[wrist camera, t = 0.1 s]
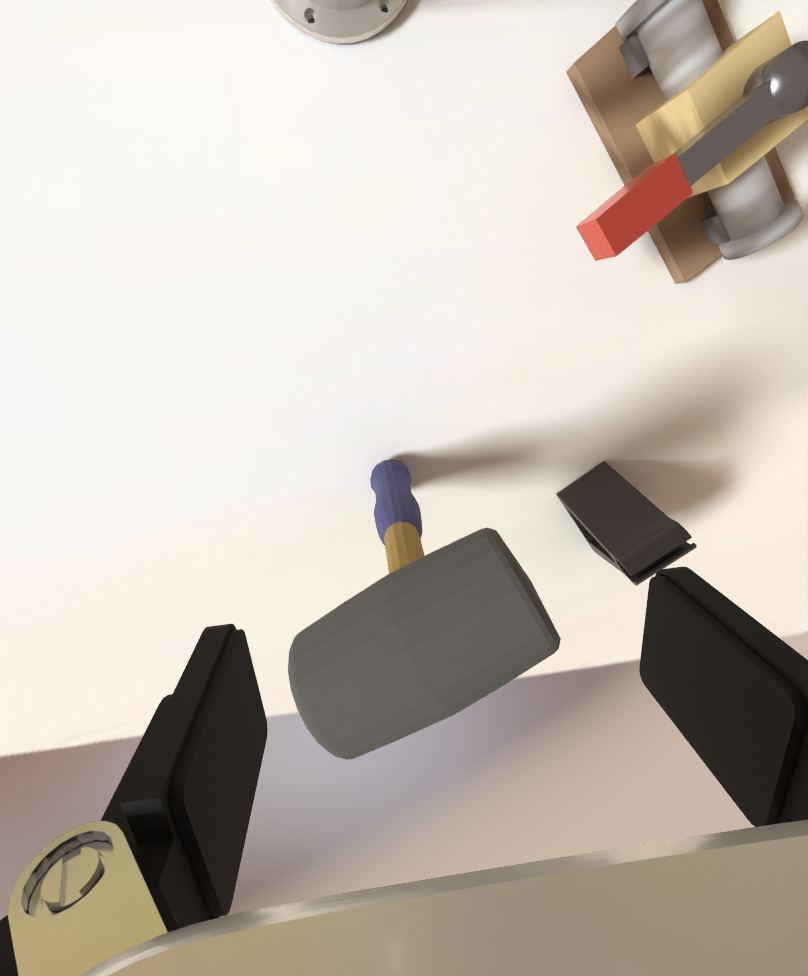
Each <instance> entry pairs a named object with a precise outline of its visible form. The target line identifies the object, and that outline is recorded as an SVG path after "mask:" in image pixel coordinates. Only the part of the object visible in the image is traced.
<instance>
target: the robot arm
mask: <svg viewBox="0 0 808 976" xmlns="http://www.w3.org/2000/svg"><path fill="white" fill-rule="evenodd" d="M271 2H272V3H273V5H274V6H275V7H276V9H277V10H278V11H279V12H280V13H281V14H282V15H283V16H284V17H285V18H286V19H287V20H288V21H289V22H290V23H291V24H293V25H294V26H295V27H297V28H298V29H299V30H301V31H302V32H304V33H305V34H307V35H310V36H312V37H314V38H316V39H318V40H321V41H326V42H331V43H335V44H342V43H355V42H358V41H362V40H365V39H368V38H370V37H372V36H374V35H375V34H377V33H379V32H381V31H382V30H383V29H384V28H385V27H387V26H388V25H389V24H390V23H391V22H392V21H393V20H394V19H395V18H396V17H397V15H398V14H399V13H400V11H401V10H402V8H403V7H404V6H405V4H406V2H407V0H271ZM383 8H386V9H387V11H388V12H386V13H385V12H382V11H381V10H382V9H383ZM309 19H313V20H314V21H315V22H314V23H308V21H309ZM640 676H641V679H642V681H643V683H644V685H645V686H646V688H647V689H648V690H649V691H650V693H651V694H652V695H653V697H654V698H655V699H656V701H657V702H658V703H659V704H660V706H661V707H662V708H663V710H664V711H665V712H666V714H667V715H668V716H669V718H670V719H671V720H672V721H673V723H674V724H675V725H676V727H677V728H678V729H679V730H680V732H681V733H682V734H683V736H684V737H685V738H686V740H687V741H688V742H689V744H690V745H691V746H692V747H693V749H694V750H695V751H696V753H697V754H698V755H699V757H700V758H701V759H702V760H703V762H704V763H705V764H706V766H707V767H708V768H709V770H710V771H711V772H712V773H713V775H714V776H715V777H716V779H717V780H718V781H719V783H720V784H721V785H722V786H723V788H724V789H725V790H726V792H727V793H728V794H729V796H730V797H731V798H732V799H733V801H734V802H735V803H736V805H737V806H738V807H739V809H740V810H741V811H742V812H743V813H744V815H745V816H746V818H747V819H748V820H749V821H750V822H751V824H752V825H754V826H755V827H754V828H747V829H741V830H734V831H727V832H721V833H714V834H708V835H701V836H695V837H688V838H682V839H676V840H669V841H662V842H656V843H649V844H643V845H636V846H630V847H624V848H618V849H611V850H605V851H599V852H593V853H586V854H580V855H574V856H568V857H561V858H555V859H549V860H543V861H536V862H530V863H524V864H518V865H512V866H505V867H499V868H493V869H487V870H481V871H475V872H469V873H463V874H456V875H450V876H445V877H438V878H432V879H426V880H420V881H414V882H408V883H402V884H397V885H390V886H384V887H379V888H373V889H366V890H361V891H354V892H349V893H343V894H337V895H331V896H326V897H321V898H315V899H310V900H304V901H299V902H294V903H289V904H283V905H278V906H272V907H267V908H262V909H256V910H251V911H246V912H241V913H238V914H233V915H229V916H224V915H227V914H228V913H229V910H230V908H231V904H232V900H233V895H234V890H235V885H236V881H237V876H238V871H239V867H240V862H241V857H242V853H243V848H244V843H245V838H246V834H247V829H248V824H249V820H250V815H251V810H252V805H253V801H254V795H255V791H256V786H257V782H258V777H259V772H260V768H261V762H262V758H263V753H264V749H265V744H266V739H267V720H266V716H265V712H264V708H263V704H262V700H261V696H260V692H259V688H258V684H257V680H256V676H255V672H254V668H253V664H252V660H251V656H250V652H249V648H248V644H247V640H246V636H245V632H244V631H243V630H242V629H240V630H236V627H235V626H234V625H233V624H226V625H219V626H211V627H206V628H205V629H204V631H203V632H202V634H201V637H200V639H199V641H198V643H197V645H196V647H195V649H194V651H193V653H192V655H191V657H190V659H189V661H188V664H187V666H186V668H185V670H184V672H183V674H182V676H181V678H180V680H179V682H178V684H177V686H176V688H175V691H174V693H173V694H171V695H167V696H166V697H164V698H163V699H162V701H161V702H160V704H159V706H158V708H157V710H156V712H155V714H154V716H153V718H152V720H151V722H150V724H149V726H148V728H147V730H146V732H145V734H144V736H143V738H142V740H141V742H140V744H139V746H138V748H137V749H136V752H135V753H134V756H133V757H132V759H131V761H130V763H129V765H128V767H127V769H126V771H125V773H124V776H123V777H122V779H121V782H120V783H119V785H118V787H117V789H116V791H115V793H114V795H113V797H112V799H111V801H110V803H109V805H108V807H107V809H106V811H105V813H104V815H103V817H102V819H101V821H95V822H89V823H86V824H83V825H80V826H77V827H75V828H73V829H71V830H69V831H68V832H66V833H64V834H62V835H61V836H59V837H57V838H56V839H55V840H54V841H52V842H51V843H50V844H49V845H47V846H46V847H45V848H44V849H42V850H41V851H40V852H39V853H38V854H37V855H36V856H35V858H34V859H33V860H32V861H31V862H30V863H29V864H28V865H27V866H26V868H25V869H24V871H23V872H22V874H21V875H20V877H19V878H18V880H17V882H16V883H15V885H14V888H13V890H12V893H11V895H10V898H9V903H8V904H9V905H8V915H7V916H6V917H4V918H3V919H2V920H0V976H808V660H807V659H805V658H804V657H803V656H802V655H800V654H799V653H798V652H796V651H795V650H794V649H793V648H791V647H790V646H788V645H787V644H786V643H785V642H784V641H782V640H781V639H780V638H778V637H777V636H776V635H774V634H773V633H772V632H771V631H769V630H768V629H767V628H765V627H764V626H763V625H762V624H760V623H759V622H758V621H756V620H755V619H754V618H753V617H751V616H750V615H749V614H747V613H746V612H745V611H743V610H742V609H741V608H740V607H738V606H737V605H736V604H734V603H733V602H732V601H731V600H729V599H728V598H727V597H725V596H724V595H723V594H722V593H720V592H719V591H718V590H716V589H715V588H714V587H712V586H711V585H710V584H709V583H707V582H706V581H705V580H703V579H702V578H701V577H700V576H698V575H697V574H696V573H694V572H693V571H692V570H691V569H689V568H687V567H677V568H669V569H661V570H659V571H658V572H657V573H656V576H655V577H652V578H651V580H650V583H649V591H648V600H647V608H646V617H645V625H644V634H643V643H642V651H641V660H640ZM220 916H224V917H220ZM219 917H220V918H219Z"/></svg>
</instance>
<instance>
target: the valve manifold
mask: <svg viewBox="0 0 808 976" xmlns="http://www.w3.org/2000/svg"><path fill="white" fill-rule="evenodd" d="M615 25H616V26H615V27H614V28H612V29H611V30H610V31H609V32H608V33H607V34H606V35H605V36H604V37H602V38H601V39H600V40H599V41H598V42H597V43H596V44H595V45H594V46H593V47H591V48H590V49H589V50H588V51H587V52H586V53H585V54H584V55H583V56H581V57H580V58H579V59H578V60H577V61H576V62H575V63H574V64H573V65H572V66H571V67H570V68H569V70H568V71H567V74H568V76H569V78H570V80H571V82H572V84H573V86H574V88H575V90H576V91H577V93H578V95H579V97H580V99H581V101H582V103H583V105H584V107H585V109H586V111H587V113H588V115H589V117H590V119H591V121H592V123H593V124H594V126H595V128H596V130H597V132H598V134H599V136H600V138H601V140H602V142H603V144H604V146H605V148H606V150H607V152H608V154H609V156H610V157H611V159H612V161H613V163H614V165H615V167H616V169H617V171H618V173H619V175H620V177H621V179H622V181H623V183H624V185H626V184H627V183H629V182H630V181H631V180H632V179H633V178H635V177H636V176H637V175H638V174H639V173H641V172H642V171H643V170H644V169H645V168H646V167H648V166H650V165H652V164H654V163H656V162H658V161H660V160H662V159H664V158H666V157H668V156H670V155H672V154H673V153H674V152H676V151H677V150H678V149H679V148H680V147H682V146H683V145H684V144H685V143H686V142H688V141H689V140H690V139H691V138H692V137H694V136H695V135H696V134H697V133H698V132H700V131H701V130H702V129H703V128H704V127H706V126H707V125H708V124H709V123H710V122H711V121H713V120H714V119H715V118H716V117H717V116H719V115H720V114H721V113H722V112H723V111H725V110H726V109H727V108H728V107H729V106H731V105H732V104H733V103H734V102H735V101H737V100H738V99H739V98H740V97H741V96H742V95H743V90H744V87H745V84H746V82H747V80H748V78H749V76H750V75H751V74H752V72H753V71H754V70H755V69H756V68H757V67H758V66H760V65H761V64H763V63H764V62H766V61H768V60H769V59H771V58H772V57H774V56H776V55H777V54H779V53H781V52H782V51H784V50H786V49H787V48H789V47H790V46H792V45H791V43H790V40H789V37H788V34H787V31H786V28H785V26H784V23H783V20H782V17H781V14H780V11H779V12H777V13H776V14H775V15H773V16H772V17H770V18H769V19H768V20H766V21H765V22H763V23H762V24H761V25H759V26H758V27H756V28H755V29H753V30H752V31H751V32H749V33H748V34H746V35H745V36H744V37H742V38H741V39H739V40H738V41H737V42H735V43H734V41H733V39H732V36H731V34H730V31H729V29H728V26H727V24H726V21H725V18H724V16H723V13H722V11H721V8H720V6H719V3H718V1H717V0H637V1H636V2H635V3H634V4H633V5H632V6H631V7H630V8H629V9H628V10H627V11H626V12H625V13H624V14H623V15H622V17H621V18H620V19H619V20H618V21H617V22H616V24H615ZM807 120H808V106H807V107H806V108H804V109H803V110H801V111H798V112H796V113H794V114H792V115H789V116H787V117H785V118H783V119H781V120H778V121H776V122H774V123H772V124H769V125H766V126H764V127H763V128H761V129H760V130H759V131H758V132H756V133H755V134H754V135H753V136H752V137H750V138H749V139H748V140H747V141H745V142H744V143H743V144H742V145H741V146H739V147H738V148H737V149H736V150H734V151H733V152H732V153H731V154H730V155H728V156H727V157H726V158H725V159H724V160H722V161H721V162H720V163H719V164H717V165H716V166H715V167H714V168H713V169H711V170H710V171H709V172H708V173H706V174H705V175H704V176H703V177H702V178H700V179H699V180H698V181H697V182H695V183H694V184H693V185H692V186H691V189H692V191H693V194H692V195H691V196H689V197H688V198H687V199H686V200H685V201H683V202H682V203H681V204H680V205H678V206H677V207H676V208H675V209H673V210H672V211H671V212H670V213H669V214H667V215H666V216H665V217H664V218H662V219H661V220H660V221H659V222H658V223H656V224H655V225H654V226H653V227H651V228H650V229H649V230H648V231H649V233H650V235H651V237H652V239H653V241H654V243H655V245H656V247H657V249H658V251H659V253H660V254H661V256H662V258H663V260H664V262H665V264H666V266H667V268H668V270H669V272H670V274H671V276H672V278H673V280H674V282H675V284H676V283H686V282H687V281H689V280H690V279H691V278H692V277H694V276H695V275H696V274H698V273H699V272H700V271H701V270H703V269H704V268H705V267H706V266H708V265H709V264H710V263H712V262H713V261H714V260H715V259H717V258H718V257H719V256H720V255H723V257H724V259H727V260H732V259H737V258H741V257H744V256H747V255H749V254H752V253H754V252H756V251H758V250H760V249H762V248H764V247H766V246H768V245H770V244H772V243H773V242H775V241H777V240H778V239H780V238H781V237H783V236H784V235H786V234H787V233H788V232H790V231H791V230H792V229H793V228H795V227H796V226H797V225H798V224H799V223H800V221H801V220H802V218H803V214H802V211H801V208H800V206H799V203H798V201H797V200H795V199H793V198H794V195H793V192H792V190H791V187H790V185H789V182H788V180H787V177H786V174H785V172H784V169H783V167H782V164H781V162H780V159H779V157H778V154H777V151H776V149H775V146H776V145H777V144H778V143H780V142H781V141H782V140H783V139H785V138H786V137H787V136H788V135H789V134H791V133H792V132H793V131H794V130H796V129H797V128H798V127H799V126H801V125H802V124H803V123H804V122H806V121H807Z"/></svg>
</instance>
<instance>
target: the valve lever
mask: <svg viewBox="0 0 808 976" xmlns="http://www.w3.org/2000/svg"><path fill="white" fill-rule="evenodd" d="M807 106H808V41H801V42H798V43H796V44H794V45H792V46H790V47H789V48H787V49H786V50H784V51H782V52H781V53H779V54H777V55H776V56H774V57H772V58H771V59H769V60H768V61H766V62H764V63H763V64H761V65H760V66H758V67H757V68H756V69H755V70H754V71H753V72H752V74H751V75H750V76H749V78H748V80H747V82H746V84H745V87H744V90H743V95H742V96H741V97H740V98H739V99H738V100H737V101H735V102H734V103H733V104H732V105H731V106H729V107H728V108H727V109H726V110H725V111H723V112H722V113H721V114H720V115H719V116H717V117H716V118H715V119H714V120H713V121H711V122H710V123H709V124H708V125H707V126H706V127H704V128H703V129H702V130H701V131H700V132H698V133H697V134H696V135H695V136H694V137H692V138H691V139H690V140H689V141H688V142H686V143H685V144H684V145H683V146H682V147H680V148H679V149H678V150H677V151H676V152H674V153H673V154H672V155H670V156H668V157H666V158H664V159H662V160H660V161H658V162H656V163H654V164H652V165H650V166H648V167H646V168H645V169H644V170H643V171H642V172H641V173H639V174H638V175H637V176H636V177H635V178H633V179H632V180H631V181H630V182H629V183H627V184H626V185H625V186H624V187H623V188H621V189H620V190H619V191H618V192H617V193H616V194H614V195H613V196H612V197H611V198H610V199H608V200H607V201H606V202H605V203H604V204H602V205H601V206H600V207H599V208H598V209H597V210H595V211H594V212H593V213H592V214H591V215H589V216H588V217H587V218H586V219H585V220H583V221H582V222H581V223H580V224H579V225H577V226H576V228H577V229H578V231H579V233H580V235H581V236H582V238H583V240H584V242H585V243H586V245H587V247H588V249H589V250H590V252H591V254H592V256H593V257H594V259H595V261H596V260H601V259H606V258H610V257H615V256H617V255H618V254H620V253H621V252H622V251H623V250H624V249H626V248H627V247H628V246H629V245H631V244H632V243H633V242H634V241H636V240H637V239H638V238H639V237H640V236H642V235H643V234H644V233H645V232H647V231H648V230H649V229H650V228H651V227H653V226H654V225H655V224H656V223H658V222H659V221H660V220H661V219H662V218H664V217H665V216H666V215H667V214H669V213H670V212H671V211H672V210H673V209H675V208H676V207H677V206H678V205H680V204H681V203H682V202H683V201H685V200H686V199H687V198H688V197H689V196H691V195H692V194H693V191H692V189H691V186H692V185H693V184H694V183H695V182H697V181H698V180H699V179H700V178H702V177H703V176H704V175H705V174H706V173H708V172H709V171H710V170H711V169H713V168H714V167H715V166H716V165H717V164H719V163H720V162H721V161H722V160H724V159H725V158H726V157H727V156H728V155H730V154H731V153H732V152H733V151H734V150H736V149H737V148H738V147H739V146H741V145H742V144H743V143H744V142H745V141H747V140H748V139H749V138H750V137H752V136H753V135H754V134H755V133H756V132H758V131H759V130H760V129H761V128H763V127H764V126H766V125H769V124H772V123H774V122H776V121H778V120H781V119H783V118H785V117H787V116H789V115H792V114H794V113H796V112H798V111H801V110H803V109H804V108H806V107H807Z"/></svg>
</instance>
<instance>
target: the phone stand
mask: <svg viewBox="0 0 808 976" xmlns="http://www.w3.org/2000/svg"><path fill="white" fill-rule="evenodd" d="M557 496H558V498H559V499H560V501H561V502H562V504H563V505H564V507H565V508H566V510H567V511H568V513H569V514H570V516H571V517H572V519H573V520H574V522H575V523H576V525H577V526H578V528H579V529H580V531H581V532H582V534H583V535H584V537H585V538H586V540H587V541H588V543H589V545H590V546H591V548H592V549H593V550H594V551H595V552H596V553H597V554H598V555H600V556H601V557H602V558H604V559H605V560H606V561H608V562H609V563H610V564H612V565H613V566H614V567H616V568H617V569H619V570H620V571H621V572H622V573H624V574H625V575H626V576H627V577H628V578H629V579H630V580H631V581H632V582H633V583H634V584H635V585H638V584H640V583H641V582H643V581H644V580H646V579H648V578H649V577H651V576H652V575H654V574H655V573H657V572H658V571H659V570H661V569H663V568H665V567H666V566H668V565H670V564H671V563H673V562H674V561H676V560H677V559H679V558H681V557H682V556H684V555H685V554H687V553H688V552H690V551H692V550H693V549H695V548H696V544H694V543H693V544H691V545H690V544H689V543H687V542H686V541H687V540H689V539H690V538H692V537H691V535H690V534H689V533H688V532H687V531H686V530H685V529H684V528H683V527H682V526H681V525H680V524H679V523H678V522H676V521H674V520H672V519H671V518H669V517H668V516H666V515H665V514H664V513H663V512H662V511H660V510H659V509H658V508H657V507H656V506H655V505H654V504H652V503H651V502H650V501H649V500H648V499H647V498H646V497H644V496H643V495H642V494H641V493H640V492H639V491H638V490H636V489H635V488H634V487H633V486H632V485H631V484H630V483H628V482H627V481H626V480H625V479H624V478H623V477H622V476H620V475H619V474H618V473H617V472H616V471H615V470H614V469H612V468H611V467H610V466H609V465H608V464H607V463H606V462H602V463H601V464H599V465H598V466H596V467H595V468H594V469H592V470H591V471H589V472H588V473H586V474H585V475H583V476H582V477H580V478H579V479H577V480H576V481H575V482H573V483H572V484H570V485H569V486H567V487H566V488H564V489H563V490H561V491H560V492H558V493H557Z"/></svg>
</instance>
